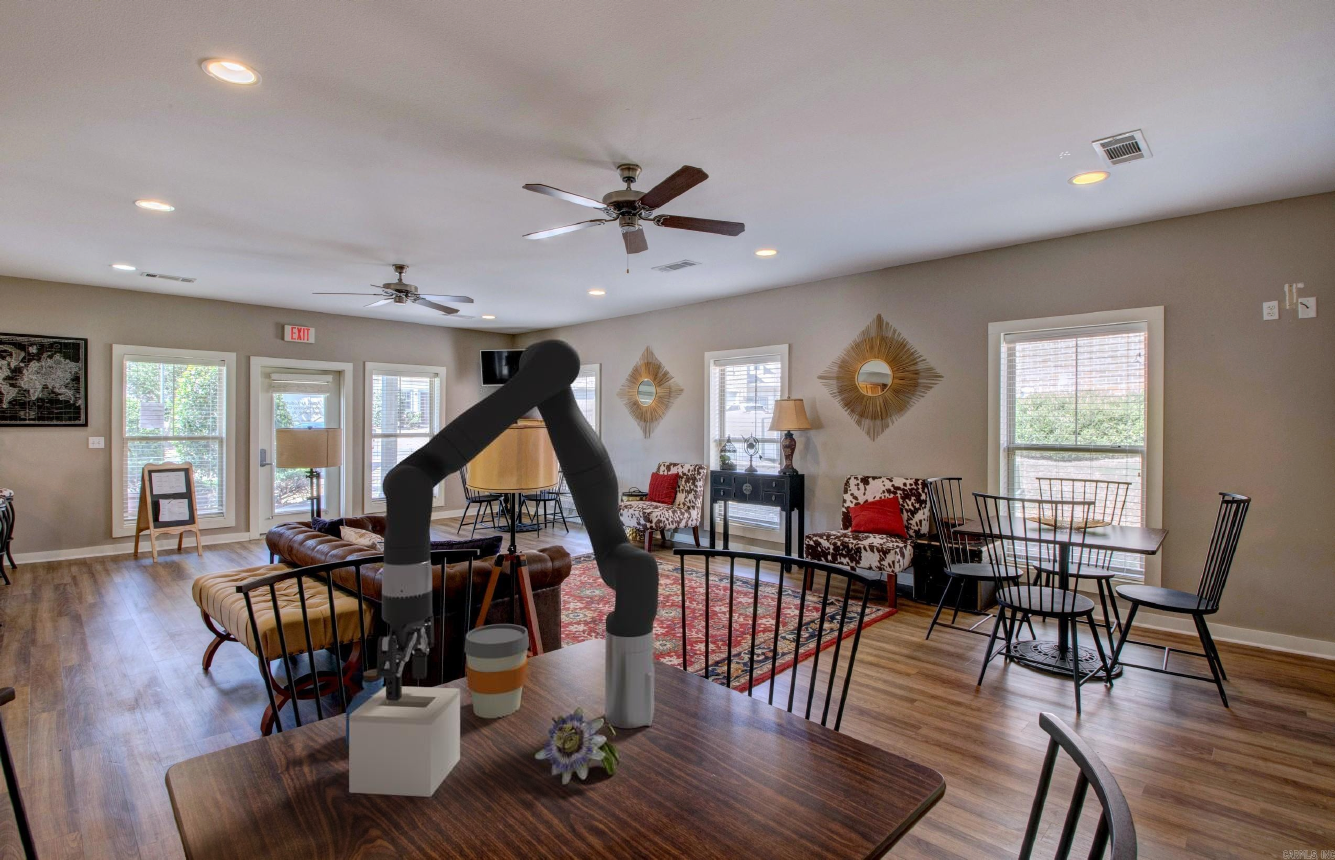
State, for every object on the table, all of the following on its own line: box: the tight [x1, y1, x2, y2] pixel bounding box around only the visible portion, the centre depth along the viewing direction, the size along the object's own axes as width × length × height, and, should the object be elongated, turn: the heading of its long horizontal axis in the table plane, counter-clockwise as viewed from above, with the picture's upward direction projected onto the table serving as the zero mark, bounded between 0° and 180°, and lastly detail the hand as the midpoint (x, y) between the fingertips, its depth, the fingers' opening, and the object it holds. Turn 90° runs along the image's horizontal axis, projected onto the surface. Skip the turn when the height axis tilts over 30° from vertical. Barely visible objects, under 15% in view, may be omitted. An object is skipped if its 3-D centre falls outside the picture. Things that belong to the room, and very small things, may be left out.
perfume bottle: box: [345, 668, 385, 746], centre depth 115 cm, size 6×6×12 cm
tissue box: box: [348, 686, 461, 798], centre depth 103 cm, size 13×11×12 cm
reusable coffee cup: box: [464, 623, 530, 719], centre depth 127 cm, size 13×13×15 cm
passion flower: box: [534, 705, 621, 786], centre depth 105 cm, size 11×11×12 cm
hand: (407, 688), depth 103 cm, fingers open, 8 cm apart
